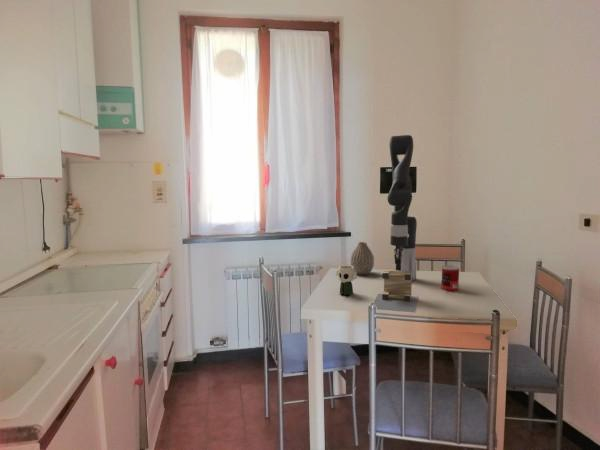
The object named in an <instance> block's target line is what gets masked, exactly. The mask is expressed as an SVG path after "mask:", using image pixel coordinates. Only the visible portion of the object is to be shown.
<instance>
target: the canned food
mask: <svg viewBox="0 0 600 450" xmlns="http://www.w3.org/2000/svg"><path fill="white" fill-rule="evenodd" d="M459 276H460V267H459V266H458V265H452V264H451V265H449V264H448V265H443V266H442V267H441V289H442V290H443V291H446V292H457V291H458V290H459V283H460V281H459V280H460V277H459Z"/></svg>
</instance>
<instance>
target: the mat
mask: <svg viewBox="0 0 600 450" xmlns="http://www.w3.org/2000/svg"><path fill="white" fill-rule="evenodd" d="M382 294H383V293H377V295H376V297H375V299H374V301H373V303H374V304H375V305H376V307H377V309H376V310H382V311H395V312H403V313H405V312H406V313H416V311H417V306H418V300H419V296H417V295H415V296H414V295H411V300H410V302H406V301H404V299H398V298H389V299H388V300H382Z"/></svg>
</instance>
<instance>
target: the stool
mask: <svg viewBox="0 0 600 450" xmlns="http://www.w3.org/2000/svg"><path fill="white" fill-rule="evenodd" d="M382 279H383V292H382V293H381V294H382V300H388V299H389V298H398V299H404V301H406V302H410V300H411V296H412V285H413V281H412V271H400V270H396V269H383V272H382Z"/></svg>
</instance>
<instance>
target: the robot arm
mask: <svg viewBox="0 0 600 450" xmlns="http://www.w3.org/2000/svg"><path fill="white" fill-rule="evenodd" d="M413 152H414V140H413V136H412V135H410V134H404V135H403V134H401V135H392V136H391V137H390V138H389V154H390V161H391V163H390V164H391V171H392V183H391V184H392V185H391V188H390V190H389V192H388V194H387V203H388V204H389V205H390V206H393V207H394V208H393V212H391V221H390V222H391V224H390V241H389V243H390V245H391V246H394V247H395V248H394V249H393V254H394V255H393V258H394V264H395V270H400V271H412V282H414V281H415V280H417V261H416V242H417V241H416V239H417V237H416V236H417V226H418V223H417V218H416V217H415V216H409V209H410V207H411V203H412V201H413V194H412V192H413V188H412V187H413V186H412V178H411V176H410V170H411V169H410V167H411V164H412V158H413ZM398 156H403V158H402V159H401V161H400V160H399V157H398Z"/></svg>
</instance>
